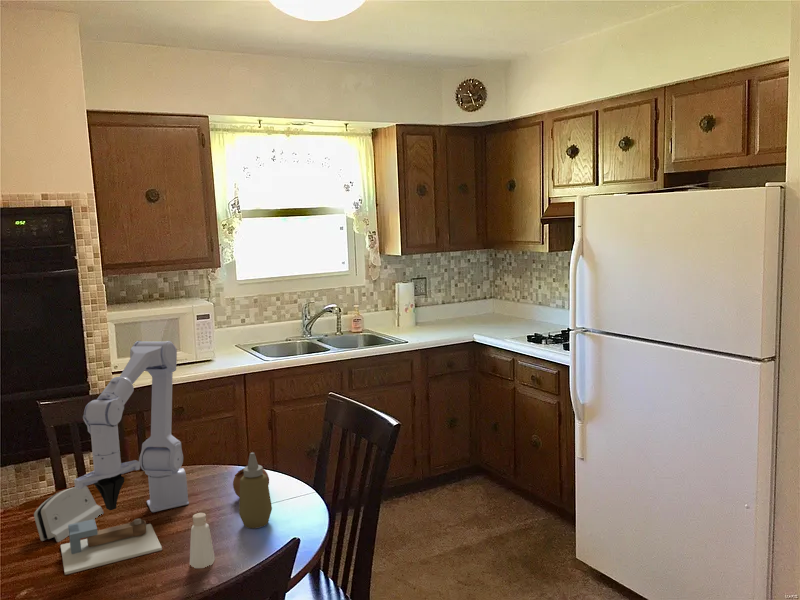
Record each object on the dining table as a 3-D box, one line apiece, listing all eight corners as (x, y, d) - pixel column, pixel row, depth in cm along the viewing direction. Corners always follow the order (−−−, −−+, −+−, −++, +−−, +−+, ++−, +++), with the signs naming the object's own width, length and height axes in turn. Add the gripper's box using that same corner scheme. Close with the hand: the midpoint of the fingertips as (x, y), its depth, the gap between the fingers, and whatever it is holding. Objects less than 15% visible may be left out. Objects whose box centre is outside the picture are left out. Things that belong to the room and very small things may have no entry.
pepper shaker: (191, 571, 144) (187, 522, 142) (188, 559, 149) (184, 512, 147) (216, 565, 146) (213, 517, 145) (213, 554, 151) (210, 507, 150)
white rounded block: (57, 542, 159) (41, 503, 158) (42, 547, 160) (26, 508, 160) (104, 512, 175) (90, 477, 174) (90, 517, 176) (76, 481, 176)
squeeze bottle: (279, 522, 166) (275, 452, 164) (251, 534, 160) (247, 461, 158) (260, 513, 171) (256, 445, 169) (232, 524, 165) (228, 454, 163)
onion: (243, 514, 178) (226, 487, 174) (242, 491, 187) (226, 465, 182) (276, 499, 179) (260, 472, 175) (273, 477, 188) (258, 451, 183)
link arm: (144, 527, 163) (144, 515, 163) (147, 533, 160) (146, 520, 159) (87, 542, 156) (86, 528, 156) (89, 548, 153) (87, 534, 153)
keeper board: (150, 525, 166) (149, 504, 166) (162, 549, 154) (160, 526, 153) (60, 547, 156) (58, 524, 156) (64, 574, 144) (62, 550, 143)
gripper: (127, 439, 161) (131, 493, 163) (65, 457, 150) (71, 515, 152) (142, 445, 157) (147, 500, 158) (81, 463, 146) (86, 523, 147)
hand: (111, 508), depth 155 cm, fingers closed
